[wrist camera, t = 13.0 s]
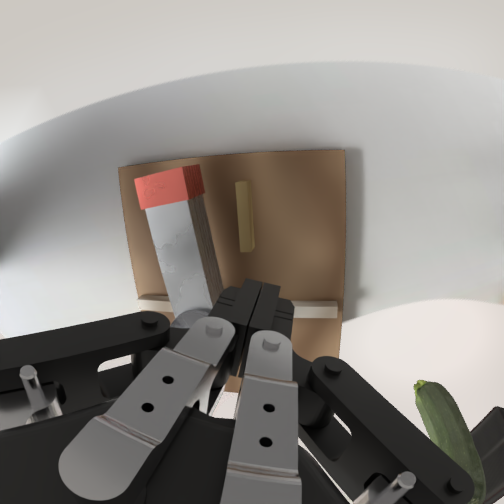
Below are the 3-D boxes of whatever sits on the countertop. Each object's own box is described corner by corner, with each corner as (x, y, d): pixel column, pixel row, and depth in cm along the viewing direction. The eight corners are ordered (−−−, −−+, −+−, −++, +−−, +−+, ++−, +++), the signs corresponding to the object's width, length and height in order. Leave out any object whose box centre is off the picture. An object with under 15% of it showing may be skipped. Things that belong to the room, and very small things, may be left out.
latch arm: (245, 340, 24) (235, 367, 21) (193, 342, 25) (178, 366, 22) (206, 162, 21) (186, 165, 17) (150, 176, 22) (124, 181, 18)
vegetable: (446, 362, 26) (509, 537, 7) (447, 390, 26) (495, 551, 8) (406, 376, 27) (443, 563, 8) (410, 404, 28) (438, 573, 9)
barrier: (421, 502, 34) (426, 548, 25) (384, 499, 35) (386, 549, 25) (526, 414, 26) (550, 463, 17) (495, 404, 26) (522, 462, 17)
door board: (164, 375, 32) (151, 395, 29) (125, 166, 26) (102, 170, 22) (334, 389, 29) (334, 413, 25) (343, 150, 22) (347, 149, 19)
